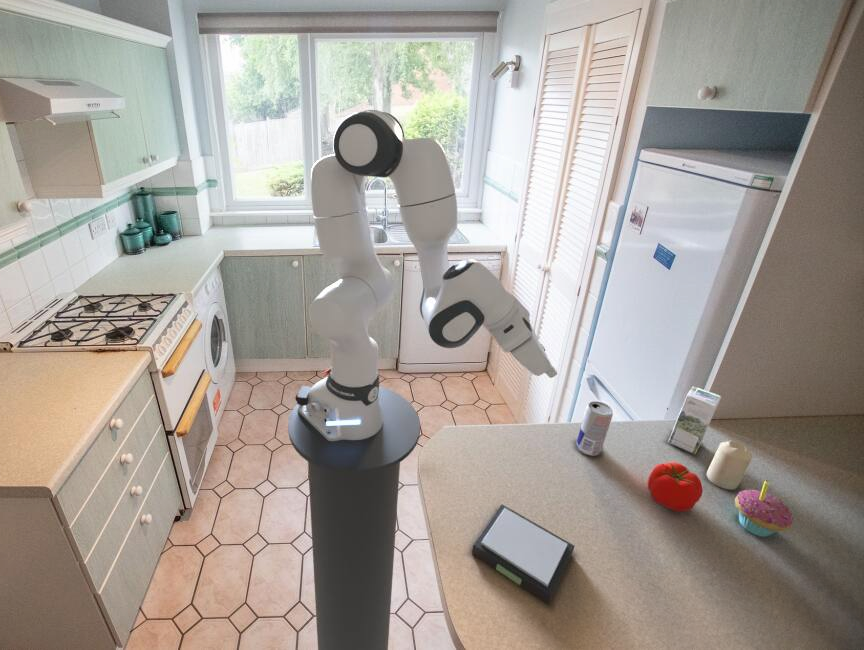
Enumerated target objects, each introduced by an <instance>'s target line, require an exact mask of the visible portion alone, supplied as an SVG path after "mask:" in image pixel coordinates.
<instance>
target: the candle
mask: <svg viewBox="0 0 864 650" xmlns="http://www.w3.org/2000/svg"><path fill="white" fill-rule="evenodd" d="M753 457H754V455H753V453H752V452H751V451H750V449H749V448H748V447H747V446H746V445H745V444H744V443H743V442H741V441H739V440H734V439H733V440H725V441H722V442H720V443H719V445H718V447H717V449H716V452H715V454H714V456H713V458H712V460H711V463H710V464H709V467H708V468H707V471H706V477H707V479H708V480H709V481H710V482H711V483H712V484H714V485H715V486H717V487H719V488H722V489H724V490H728V491H729V490H730V491H731V490H736V489H737V488H738V487H739V485H740V483H741V481H742V479H743V477H744V475H745V473H746V472H747V469H748V467H749V465H750V463H751V462H752V459H753Z"/></svg>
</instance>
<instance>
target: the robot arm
mask: <svg viewBox="0 0 864 650" xmlns="http://www.w3.org/2000/svg"><path fill="white" fill-rule="evenodd" d="M332 149H333V153H334V154H330V155H327V156H323V157H322V158H320V159H319V160H317V161H316V162H315V163H314V164H313V166H312V168H311V171H310V194H311V195H310V197H311V205H312V212H313V218H314V223H315V229H316V236H317V240H318V246H319V250H320V253H321V254H322V256H323V257H324V258H326V259H327V260H330V261H332V263H333V264H334V266H335V268H336V270H337V273H338V281H336V282H334V283H332V284H331V285H329V286H327V287H326V288H324V289H323V290H321V292H320V293H319V294H318V295H317V296H316V297H315V298H314V300H313V301H312V302H311V303H310V305H309V309H308V320H309V322H310V325H311V327H312V329H313V330H314V331H315V333H317V334H318V336H320V337H321V338H323V339H325V340H326V341H327V343H328V346H329V352H330V366H329V367H328V369H327V370H324V372H323V373H322V377H323V378H322V379H321V380H319V381H317V382H316V383H315V384H313V385H312V386H308V385H307V386H306V385H301V387H300V389H299V391H298V393H297V394H296V395H295V401H296V405H297V404H299V407H298V412H299V413H300V414H301V415H302V416H303V417H304V418H305V419H306V420H307V421H308V422H309V423H310V424H311V425H313V426H314V427H315V428H316V429H317V430H318V431H319V432H320V433H321V434H322V435H323V436H324V437H325V438H326V439H327V440H328V441H338V440H362V439H366V438H369V437H371V436H373V435H375V434H376V433H377V432H378V431H379V430H380V429H381V427H382V424H383V419H382V415H381V412H380V406H379V399H378V392H379V386H380V371H379V345H378V343H377V341H376V340H375V339H373V337H371V336H370V333H369V326H370V323H371V321H372V319H373V318H374V317H376V316H377V315H378V314H380V313H382V311H383V310H385V309H386V308H387V306H388V305H389V303H390V302H391V301H392V299H393V297H394V295H395V293H396V289H397V288H396V287H397V286H396V280H395V278H394V276H393V275H392V273H391V272H390V271H389V269H387V268H386V267H384V266H383V265H382V263H381V261H380V258H379V256H378V254H377V251H376V249H375V246H374V242H373V236H372V231H371V224H370V217H369V211H368V204H367V197H366V182H367V179H368V177H372V178H373V177H375V178H389V179H390V181H391V183H392V185H393V188H394V191H395V196H396V200H397V206H398V211H399V214H400V218H401V222H402V225H403V227H404V230H405V233H406V235H407V238H408V239H409V241H410V242H411V243H412V245H413V247H414V249H415V251H416V253H417V257H418V262H419V267H420V268H419V269H420V272H421V278H422V286H423V287H422V293H421V297H420V302H419V313H420V317H422V319H423V321H424V324H425V326H426V329H427V332H428V335H429V337H430V339H431V341H432V342H433V343H435V345H437V346H439V347H442V348H445V349H457V348H459V347H463V346H464V345H465V344H467V342H468V341H469V340H471V339H472V338H473V336H474V335H475V334H476V333H477V332H478V331H479V329H481V327H483V328H484V329H485V330H486V331H487V332H488V333H489V335H490V336H492V338H494V339H495V341H496V342H497V344H498V346H499V347H500V349H501V350H502V351H503V352H504V353H506V354H508V353H510V354H511V355H512V357H513V358H514V359H515V360H516V361H517V362H519V363H520V364H521V365H522V366H523V367H524V368H525V369H526V370H527V371H529V373H531V374H532V375H534V376H537V377H540V376H542V375H544V374H545V375H547V377H549V378H550V379H552V378H554V377H556V376H557V375H558V371H557V370H556V368H555V367H554V366H553V365H552V363H551V361H550V359H549V357H548V355H547V353H546V348H545V346H544V345H543V343H541V341H540V339H539V337H538V336H537V333H536V331H535V330H534V327H533V326H532V324H531V321H530V315H531V314H530V311H529V310H528V309H527V308H526V307H525V305H523V304H522V303H521V302H520V300H519V299H518V298H517V297H516V296H515V295H514V294H513V293H512V292H510V291H508V290H506V288H505V286H504V284H503V282H502V281H501V280H500V279H499V278H498V277H497V276H496V275H495V274H494V273H493V272H492V271H491V270H490V269H489V268H488V267H486V266H485V265H484V264H483V263H482V262H480V261H478V260H476V259H469V258H467V259H464V260H460V261H458V262H456V263H454V264H453V265H451V266H450V264H449V263H450V262H449V254H448V245H449V241H450V239H451V238H452V236H453V235H454V234H455V232H456V230H457V229H458V201H457V194H456V189H455V182H454V179H453V174H452V171H451V168H450V164H449V161H448V158H447V155H446V153H445V150H444V148H443V146H442V145H441V143H440V142H439V141H437V140H436V139H434V138H430V137H416V138H411V139H409V138H405V131H404V128H403V127H402V125H401V123H400V121H399V120H398V119H397V118H396V117H395V116H393V115H392V114H390V113H388V112H385V111H381V110H377V109H367V110H366V109H365V110H363V111H357V112H353V113H352V114H350V115H348V116H346V117H345V118H344V119H343V120H342V121H341V122H340V123H339V125H338V126H337V128H336V130H335V132H334V136H333V141H332Z"/></svg>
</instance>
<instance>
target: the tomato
mask: <svg viewBox="0 0 864 650" xmlns="http://www.w3.org/2000/svg"><path fill="white" fill-rule="evenodd" d="M690 471H691V470H690V469H688V468H687V467H686V466H685V465H683V464H682V463H678V462H666V463H660V464H657V465H656V466H655V467H653V469H652V470H651V472H650V474H649V476H648V480H647V489H648V490H649V491H650V496H651V497H652V498H653V500H654V501H655V502H657V503H658V504H659V505H661V506H663V507H665V508H668V509H671V510H672V511H676V512H687V511H690V510H692V509H693V508H694V507H695V505H696V503H697V502H699V500H700V499H701V498H702V495H703V485H702V481H701V479H700V478H699V477H698V476H697V474H696V473H694V472H690Z"/></svg>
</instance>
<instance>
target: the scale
mask: <svg viewBox="0 0 864 650" xmlns="http://www.w3.org/2000/svg"><path fill="white" fill-rule="evenodd" d="M574 549H575V544H573V543H570V542H569V541H567V540H565V539H564V538H562V537H560V536H559V535H556V534H555V533H553V532H552V531H549V530H547V528H545V527H543V526H541V525H539V524H538V523H536V522H534V521H532V520H530V519H529V518H527V517H525V516H524V515H522V514H520V513H519V512H517V511H514V510H513V509H511V508H510V507H508V506H507V505H504V504H502V503H501V505H499V507H498V509H496V511H495V513H494V514H493V516H492V517H491V519H490V520H489V521H488V523H487V525H486V526H485V527H484V529H483V530H482V531H481V533H480V535H479V536H478V537H477V539H476V540H475V542H474V543H473V545H472V550H471V554H472V555H473V556H475V557H476V558H477V559H479V560H481V561H482V562H484V563H485V564H486V565H488V566H490V567H491V568H493V569H494V570H496V571H498V572H499V573H500V574H502V575H503V576H505V577H506V578H508V579H509V580H510V581H512V582H514V583H515V584H517V585H518V586H520V587H521V588H522V589H524V590H526V591H527V592H529V593H530V594H532V595H533V596H535V598H538V599H539V600H541V601H542V602H544V603H545V604H547V605H550V603H551V600H552V598H553V596H554V594H555V591H556V590H557V588H558V586H559V584H560V581H561V579H562V577H563V575H564V572H565V570H566V568H567V566H568V564H569V562H570V560H571V558H572V556H573V552H574Z"/></svg>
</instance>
